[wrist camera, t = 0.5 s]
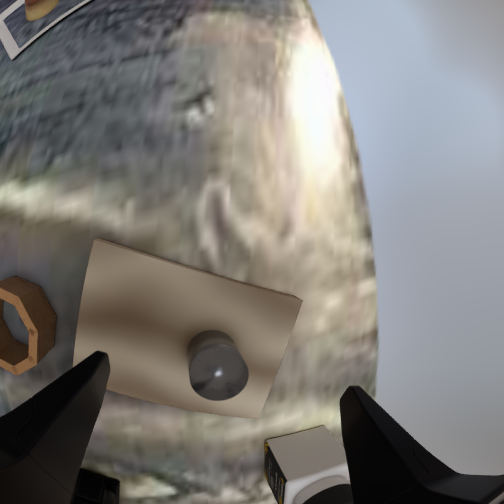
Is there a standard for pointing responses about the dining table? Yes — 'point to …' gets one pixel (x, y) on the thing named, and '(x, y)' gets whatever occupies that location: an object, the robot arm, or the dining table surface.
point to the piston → (216, 366)
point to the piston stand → (177, 327)
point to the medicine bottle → (308, 468)
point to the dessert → (36, 6)
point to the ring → (35, 319)
